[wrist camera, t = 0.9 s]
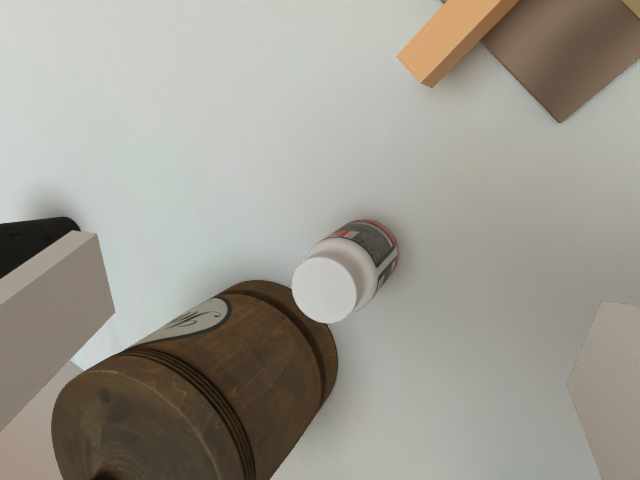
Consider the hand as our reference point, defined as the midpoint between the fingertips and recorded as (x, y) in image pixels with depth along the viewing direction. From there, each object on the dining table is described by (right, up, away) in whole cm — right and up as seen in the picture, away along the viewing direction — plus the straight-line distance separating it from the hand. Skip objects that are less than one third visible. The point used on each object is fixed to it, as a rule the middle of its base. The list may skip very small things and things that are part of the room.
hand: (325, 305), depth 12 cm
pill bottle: (+4, +1, +27) cm, 27 cm away
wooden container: (-5, -9, +33) cm, 35 cm away
